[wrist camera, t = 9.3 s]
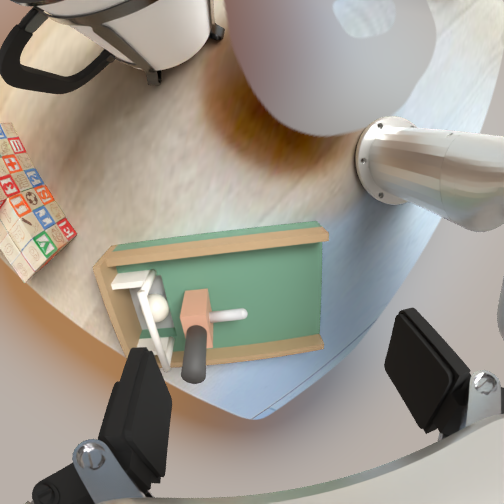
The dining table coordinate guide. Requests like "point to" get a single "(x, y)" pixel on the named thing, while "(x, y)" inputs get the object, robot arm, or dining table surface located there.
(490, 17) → the dining table surface
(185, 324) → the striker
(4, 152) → the stack of blocks
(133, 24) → the coffee press
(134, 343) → the pitch
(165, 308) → the ball
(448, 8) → the dining table surface
